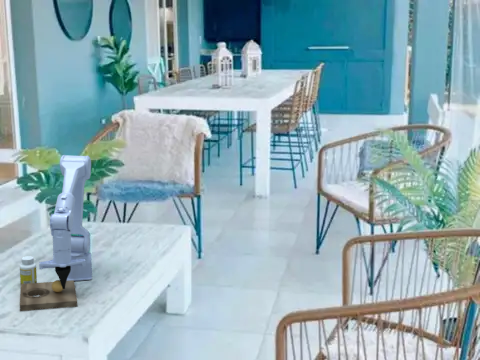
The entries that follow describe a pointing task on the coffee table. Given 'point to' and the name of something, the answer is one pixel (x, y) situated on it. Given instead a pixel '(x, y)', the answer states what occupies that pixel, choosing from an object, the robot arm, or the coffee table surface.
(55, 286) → the ball
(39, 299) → the wooden board with hole
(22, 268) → the supplement bottle
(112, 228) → the coffee table surface
